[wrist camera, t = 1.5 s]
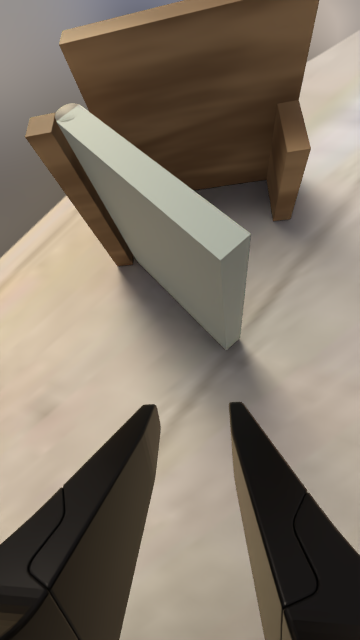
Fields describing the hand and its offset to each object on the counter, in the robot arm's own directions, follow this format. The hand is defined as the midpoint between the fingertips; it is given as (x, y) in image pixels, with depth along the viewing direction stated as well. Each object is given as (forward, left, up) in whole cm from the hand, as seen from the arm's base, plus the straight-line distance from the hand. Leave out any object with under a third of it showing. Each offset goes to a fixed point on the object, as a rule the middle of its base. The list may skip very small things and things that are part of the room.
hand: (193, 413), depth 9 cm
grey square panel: (+9, +6, -12) cm, 16 cm away
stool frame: (+17, +7, -13) cm, 23 cm away
